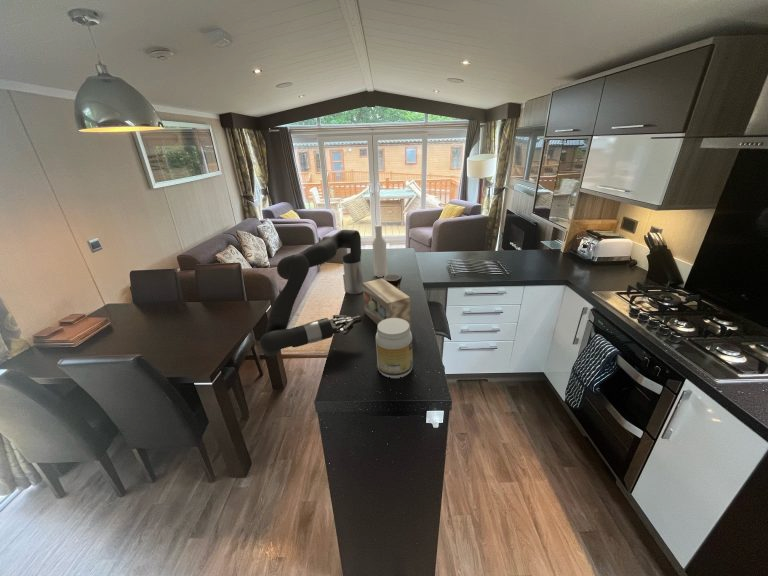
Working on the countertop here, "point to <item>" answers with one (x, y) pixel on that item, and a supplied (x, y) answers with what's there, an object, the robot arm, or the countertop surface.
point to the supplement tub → (394, 348)
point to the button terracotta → (366, 298)
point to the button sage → (372, 305)
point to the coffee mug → (393, 280)
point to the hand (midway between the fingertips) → (360, 318)
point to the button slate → (382, 312)
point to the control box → (386, 300)
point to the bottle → (379, 253)
